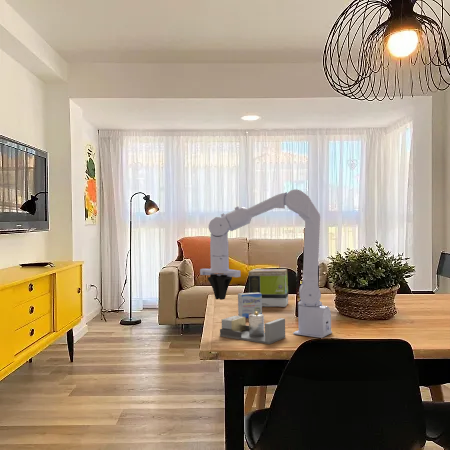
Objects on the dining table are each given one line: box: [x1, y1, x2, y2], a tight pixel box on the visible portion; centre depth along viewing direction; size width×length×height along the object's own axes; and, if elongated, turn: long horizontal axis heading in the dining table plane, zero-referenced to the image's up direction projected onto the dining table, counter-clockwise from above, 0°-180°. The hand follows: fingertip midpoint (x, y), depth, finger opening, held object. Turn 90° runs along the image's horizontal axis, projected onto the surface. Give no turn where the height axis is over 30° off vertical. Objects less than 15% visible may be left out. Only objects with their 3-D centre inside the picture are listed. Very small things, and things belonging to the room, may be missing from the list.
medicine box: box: [237, 292, 263, 319], centre depth 169 cm, size 8×4×9 cm, turn 105°
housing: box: [248, 312, 265, 337], centre depth 138 cm, size 4×4×7 cm
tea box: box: [248, 268, 289, 308], centre depth 193 cm, size 15×10×15 cm
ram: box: [221, 315, 247, 332], centre depth 143 cm, size 4×7×4 cm, turn 143°
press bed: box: [219, 317, 286, 345], centre depth 139 cm, size 18×9×6 cm, turn 53°
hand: (220, 299), depth 146 cm, fingers closed
